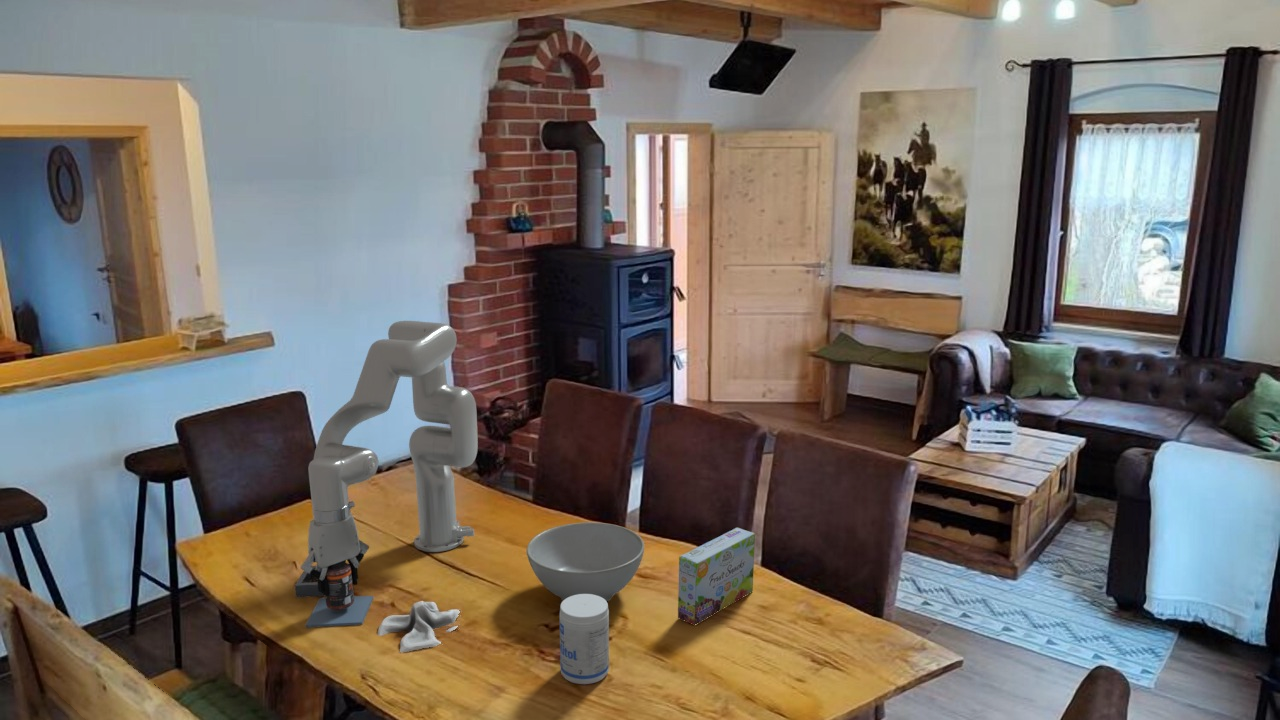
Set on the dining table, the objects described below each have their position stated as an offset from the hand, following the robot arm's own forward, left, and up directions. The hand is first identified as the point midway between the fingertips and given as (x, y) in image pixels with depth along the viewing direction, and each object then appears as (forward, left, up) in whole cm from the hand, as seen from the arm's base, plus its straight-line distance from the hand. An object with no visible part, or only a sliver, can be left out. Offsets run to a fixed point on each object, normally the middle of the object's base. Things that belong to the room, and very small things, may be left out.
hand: (338, 587), depth 202 cm
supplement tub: (-54, +29, -6) cm, 62 cm away
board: (0, 0, -6) cm, 6 cm away
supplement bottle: (0, 0, -4) cm, 4 cm away
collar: (+7, -13, -6) cm, 16 cm away
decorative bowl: (-55, -3, -6) cm, 55 cm away
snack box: (-84, +5, -6) cm, 84 cm away
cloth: (-20, +7, -7) cm, 22 cm away
